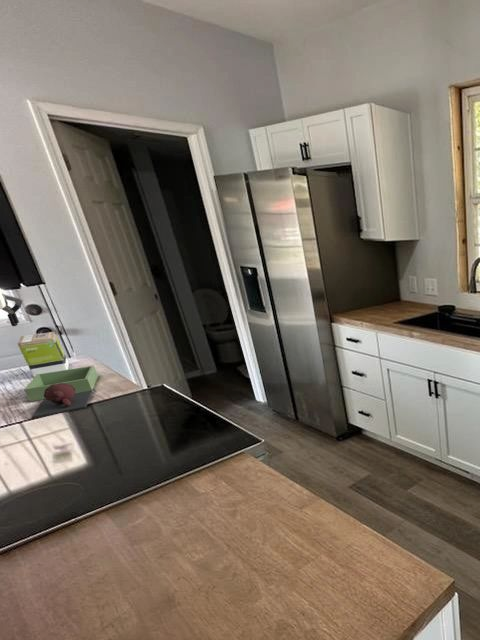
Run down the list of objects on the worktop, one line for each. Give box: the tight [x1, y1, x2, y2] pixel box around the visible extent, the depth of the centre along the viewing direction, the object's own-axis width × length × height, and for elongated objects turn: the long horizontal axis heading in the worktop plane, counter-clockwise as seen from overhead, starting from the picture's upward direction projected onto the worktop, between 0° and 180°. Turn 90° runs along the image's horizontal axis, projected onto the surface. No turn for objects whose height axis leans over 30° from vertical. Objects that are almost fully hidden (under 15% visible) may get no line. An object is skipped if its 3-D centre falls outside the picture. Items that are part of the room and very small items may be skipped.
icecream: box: [44, 383, 75, 407], centre depth 137 cm, size 7×7×15 cm
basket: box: [23, 365, 99, 402], centre depth 152 cm, size 16×20×4 cm
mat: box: [31, 390, 93, 419], centre depth 138 cm, size 12×18×1 cm, turn 39°
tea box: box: [17, 331, 70, 378], centre depth 168 cm, size 15×10×15 cm, turn 44°
